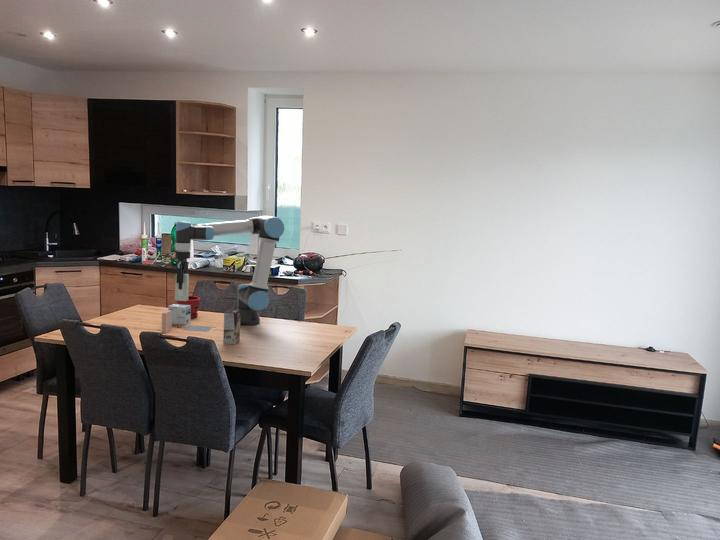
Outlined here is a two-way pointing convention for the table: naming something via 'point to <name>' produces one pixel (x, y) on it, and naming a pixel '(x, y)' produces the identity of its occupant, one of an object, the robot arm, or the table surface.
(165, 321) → the tile
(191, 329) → the tool mat
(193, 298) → the plant pot
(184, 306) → the light bulb box
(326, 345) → the table surface
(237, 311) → the coffee box
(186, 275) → the pusher tool
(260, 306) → the robot arm
